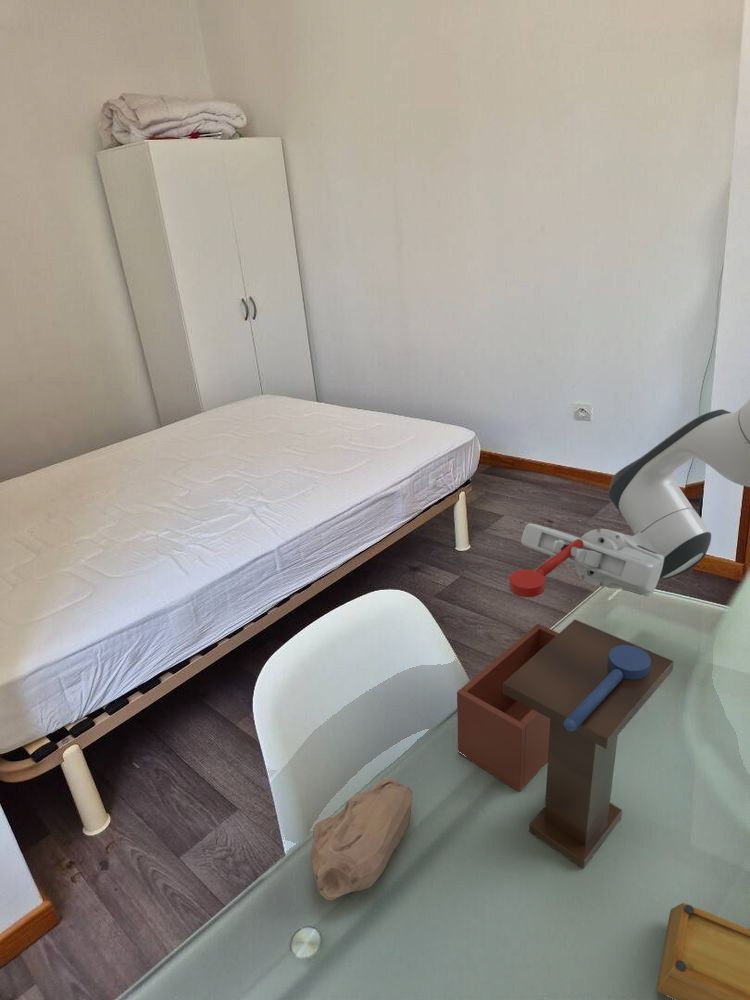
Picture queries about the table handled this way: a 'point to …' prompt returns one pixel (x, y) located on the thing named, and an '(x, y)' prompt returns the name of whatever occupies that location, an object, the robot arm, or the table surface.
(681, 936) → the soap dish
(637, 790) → the table surface
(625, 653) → the blue spoon
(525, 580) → the red spoon
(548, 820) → the shelf stand
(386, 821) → the rock
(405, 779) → the table surface
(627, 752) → the table surface
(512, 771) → the bin
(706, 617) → the table surface
